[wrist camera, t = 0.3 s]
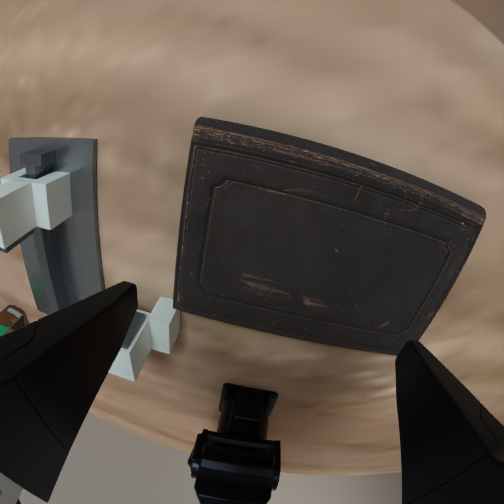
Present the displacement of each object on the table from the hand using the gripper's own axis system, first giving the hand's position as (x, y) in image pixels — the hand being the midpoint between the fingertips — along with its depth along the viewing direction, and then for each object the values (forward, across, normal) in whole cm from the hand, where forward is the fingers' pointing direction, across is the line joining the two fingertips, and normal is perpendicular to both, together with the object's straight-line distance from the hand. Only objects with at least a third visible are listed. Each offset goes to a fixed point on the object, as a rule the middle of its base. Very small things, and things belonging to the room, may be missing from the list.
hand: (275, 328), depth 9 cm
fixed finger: (+13, +22, +3) cm, 25 cm away
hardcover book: (+15, -4, +4) cm, 16 cm away
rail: (+14, +21, +9) cm, 27 cm away
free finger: (+14, +10, +14) cm, 22 cm away
